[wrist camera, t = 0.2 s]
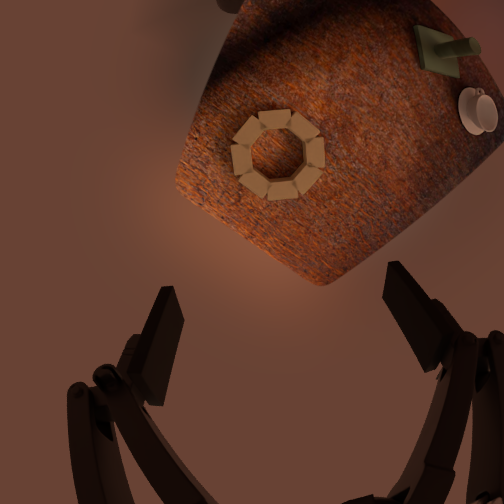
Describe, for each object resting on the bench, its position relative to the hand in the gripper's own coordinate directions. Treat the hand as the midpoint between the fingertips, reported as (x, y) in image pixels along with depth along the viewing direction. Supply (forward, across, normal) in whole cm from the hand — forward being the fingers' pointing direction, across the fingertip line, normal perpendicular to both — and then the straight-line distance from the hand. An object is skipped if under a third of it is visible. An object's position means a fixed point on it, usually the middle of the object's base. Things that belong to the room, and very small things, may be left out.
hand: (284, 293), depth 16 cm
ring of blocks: (+29, +3, +4) cm, 30 cm away
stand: (+29, +35, +24) cm, 52 cm away
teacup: (+30, +44, +14) cm, 55 cm away
